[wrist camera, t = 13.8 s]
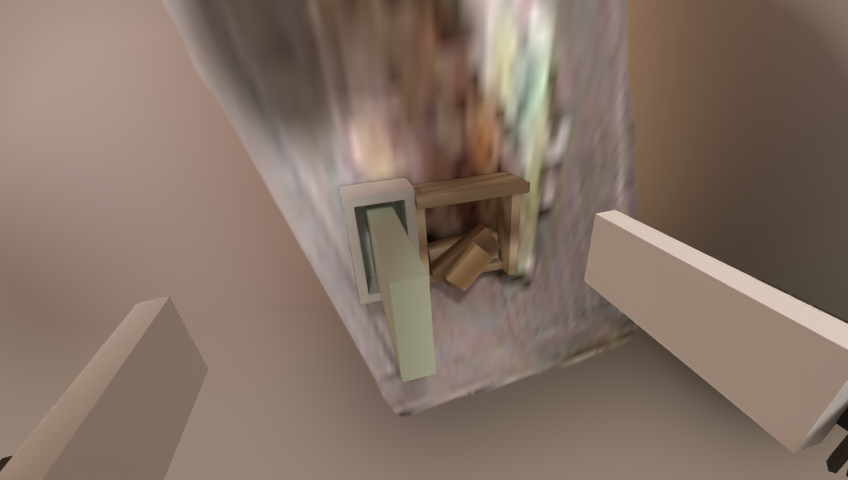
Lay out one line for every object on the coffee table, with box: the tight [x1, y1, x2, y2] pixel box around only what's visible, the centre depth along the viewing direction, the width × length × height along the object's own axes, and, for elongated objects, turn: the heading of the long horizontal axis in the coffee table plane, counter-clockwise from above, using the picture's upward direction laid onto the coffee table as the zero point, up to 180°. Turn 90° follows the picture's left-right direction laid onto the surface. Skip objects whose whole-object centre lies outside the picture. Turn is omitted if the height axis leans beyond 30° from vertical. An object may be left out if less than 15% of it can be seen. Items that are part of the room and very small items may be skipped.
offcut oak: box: [443, 241, 494, 292], centre depth 45 cm, size 4×6×2 cm, turn 141°
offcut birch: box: [427, 227, 498, 275], centre depth 49 cm, size 4×10×2 cm, turn 100°
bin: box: [340, 178, 420, 305], centre depth 43 cm, size 14×8×5 cm, turn 5°
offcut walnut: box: [430, 222, 501, 288], centre depth 46 cm, size 4×9×2 cm, turn 129°
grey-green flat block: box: [365, 202, 436, 382], centre depth 36 cm, size 3×10×20 cm, turn 5°
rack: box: [412, 172, 530, 292], centre depth 45 cm, size 14×14×6 cm
